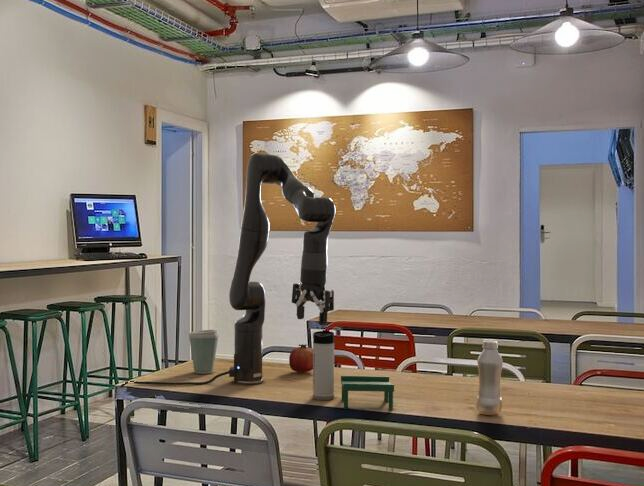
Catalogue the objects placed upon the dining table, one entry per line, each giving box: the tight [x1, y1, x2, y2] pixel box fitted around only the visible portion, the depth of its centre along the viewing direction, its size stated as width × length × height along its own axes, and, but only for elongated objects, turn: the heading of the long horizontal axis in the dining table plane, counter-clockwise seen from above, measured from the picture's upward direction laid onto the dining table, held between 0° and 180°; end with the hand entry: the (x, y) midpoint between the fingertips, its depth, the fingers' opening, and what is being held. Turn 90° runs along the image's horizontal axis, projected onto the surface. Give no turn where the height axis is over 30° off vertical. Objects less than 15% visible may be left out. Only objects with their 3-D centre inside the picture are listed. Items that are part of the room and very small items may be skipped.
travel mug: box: [312, 329, 335, 401], centre depth 221 cm, size 6×7×20 cm
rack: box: [340, 375, 395, 411], centre depth 213 cm, size 14×12×7 cm
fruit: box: [288, 343, 313, 374], centre depth 262 cm, size 11×10×10 cm
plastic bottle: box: [475, 339, 504, 416], centre depth 201 cm, size 6×7×20 cm
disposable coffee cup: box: [188, 329, 219, 375], centre depth 263 cm, size 11×11×15 cm
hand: (311, 321), depth 216 cm, fingers open, 8 cm apart
